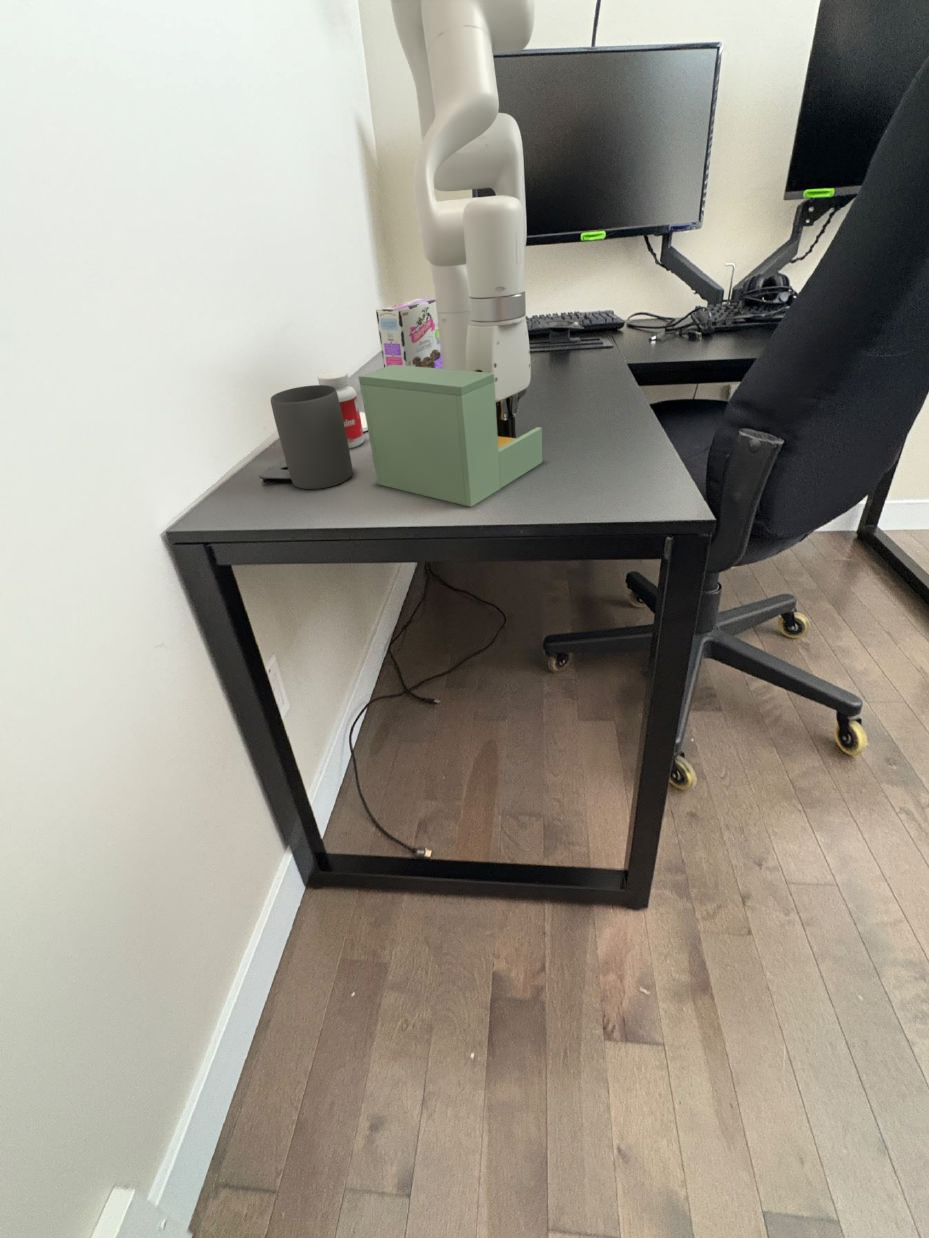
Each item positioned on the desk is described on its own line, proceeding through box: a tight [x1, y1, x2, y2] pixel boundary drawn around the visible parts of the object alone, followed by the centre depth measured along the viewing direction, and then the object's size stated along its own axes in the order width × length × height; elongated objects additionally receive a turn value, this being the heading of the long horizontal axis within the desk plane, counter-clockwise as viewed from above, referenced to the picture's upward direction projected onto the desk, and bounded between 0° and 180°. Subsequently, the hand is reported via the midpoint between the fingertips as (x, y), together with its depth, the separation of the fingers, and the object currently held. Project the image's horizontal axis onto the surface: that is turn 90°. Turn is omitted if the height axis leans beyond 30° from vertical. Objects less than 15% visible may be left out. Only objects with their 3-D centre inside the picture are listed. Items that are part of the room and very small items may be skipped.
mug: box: [270, 384, 353, 490], centre depth 86 cm, size 14×9×12 cm
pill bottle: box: [317, 370, 365, 450], centre depth 97 cm, size 6×6×11 cm
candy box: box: [375, 298, 443, 369], centre depth 120 cm, size 14×6×16 cm, turn 148°
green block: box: [358, 365, 543, 508], centre depth 81 cm, size 17×17×14 cm
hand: (504, 443), depth 91 cm, fingers closed
